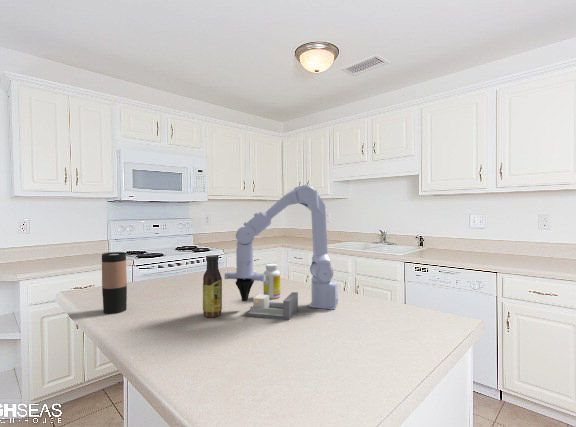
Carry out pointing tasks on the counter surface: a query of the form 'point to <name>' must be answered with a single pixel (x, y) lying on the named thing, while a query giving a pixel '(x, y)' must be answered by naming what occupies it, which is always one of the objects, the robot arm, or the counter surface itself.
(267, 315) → the board
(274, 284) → the supplement bottle
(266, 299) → the block
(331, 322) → the counter surface
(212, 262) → the sauce bottle
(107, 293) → the travel mug
